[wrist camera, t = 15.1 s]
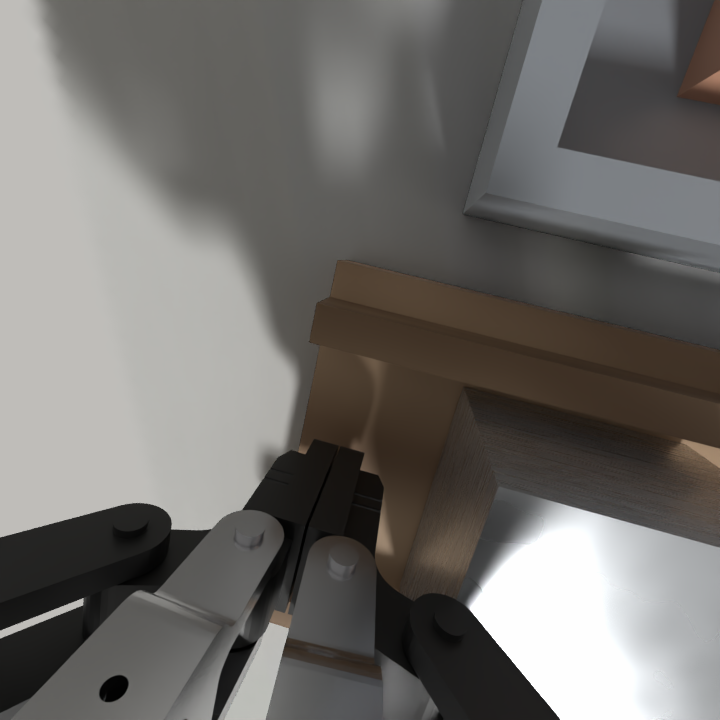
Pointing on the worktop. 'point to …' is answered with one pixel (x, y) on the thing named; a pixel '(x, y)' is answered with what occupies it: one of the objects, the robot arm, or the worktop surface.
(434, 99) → the worktop surface
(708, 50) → the block
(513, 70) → the tray
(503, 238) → the worktop surface
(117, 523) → the robot arm
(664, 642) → the block
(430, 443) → the guide board
